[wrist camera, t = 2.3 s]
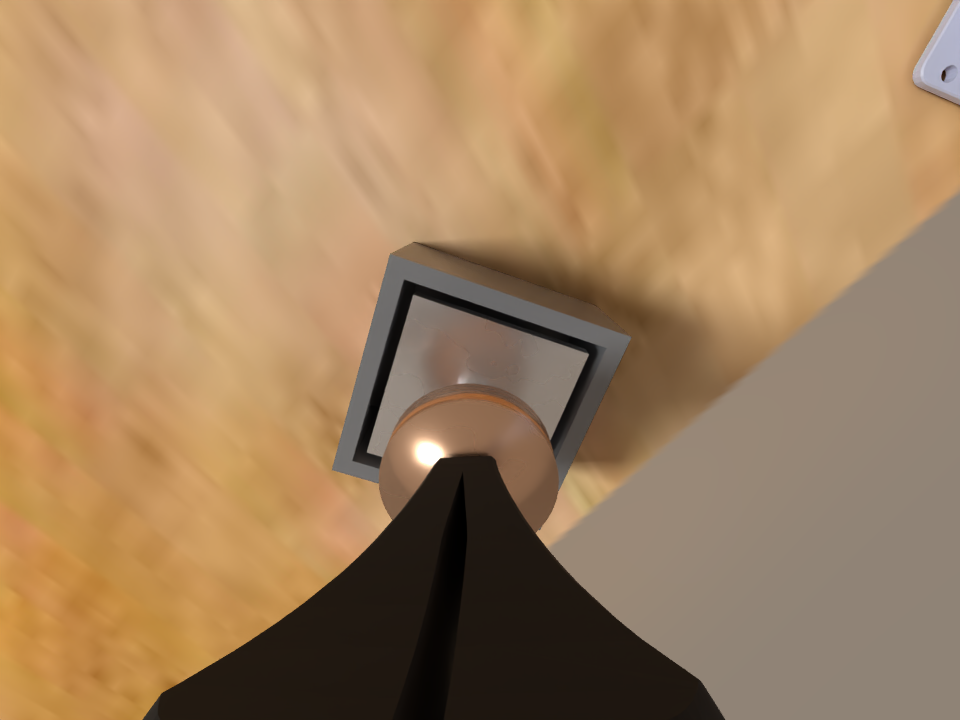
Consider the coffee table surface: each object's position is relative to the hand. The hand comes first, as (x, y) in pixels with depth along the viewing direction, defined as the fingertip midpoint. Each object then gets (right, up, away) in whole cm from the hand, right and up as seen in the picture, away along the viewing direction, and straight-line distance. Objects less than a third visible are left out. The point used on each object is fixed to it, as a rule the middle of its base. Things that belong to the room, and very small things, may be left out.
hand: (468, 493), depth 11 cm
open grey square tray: (0, +3, +9) cm, 10 cm away
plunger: (0, +2, +5) cm, 6 cm away
